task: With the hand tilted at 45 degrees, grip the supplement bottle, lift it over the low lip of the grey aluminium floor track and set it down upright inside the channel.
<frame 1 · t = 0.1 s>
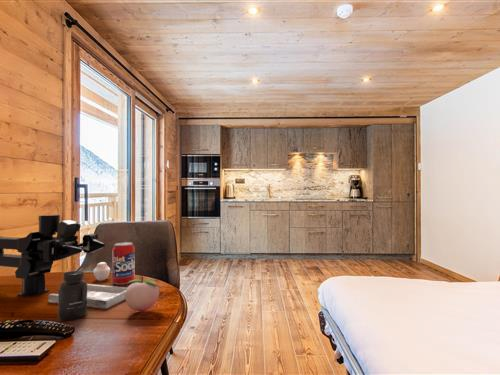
hand: (93, 247, 94), 17 cm above the table, tool horizontal, fingers open, 9 cm apart
small white vase: (101, 279, 117), on the table
supplement bottle: (72, 317, 80), on the table
decorative fruit: (141, 313, 82), on the table
floor track: (92, 298, 95), on the table
soda can: (123, 283, 111), on the table
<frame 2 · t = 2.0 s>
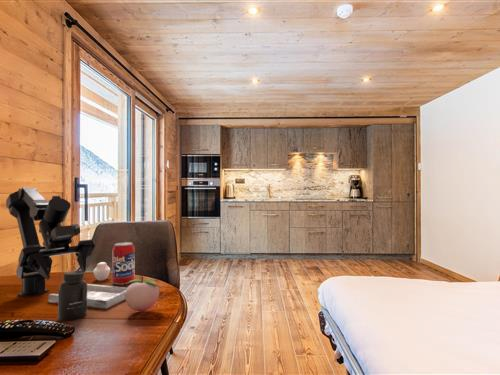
hand: (67, 275, 83), 11 cm above the table, tool tilted 45°, fingers open, 9 cm apart
nothing on the table moved.
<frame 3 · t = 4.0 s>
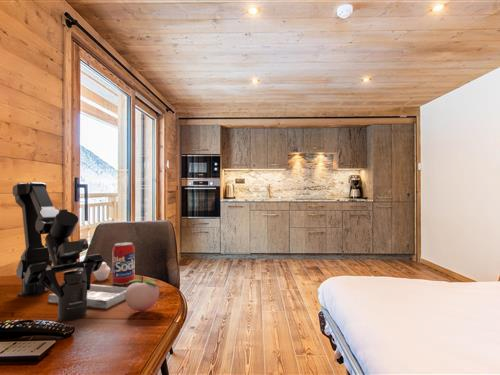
hand: (75, 293, 80), 7 cm above the table, tool tilted 45°, fingers closed on supplement bottle, 7 cm apart
supplement bottle: (72, 317, 80), on the table, touching gripper
everything else where it was.
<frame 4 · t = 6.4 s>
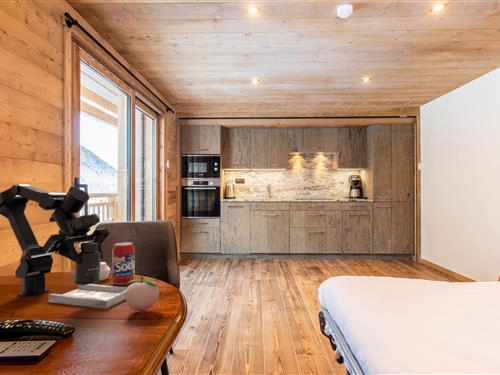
hand: (91, 260, 89), 13 cm above the table, tool tilted 45°, fingers closed on supplement bottle, 7 cm apart
supplement bottle: (87, 283, 89), point 6 cm above the table, touching gripper
everything else where it was.
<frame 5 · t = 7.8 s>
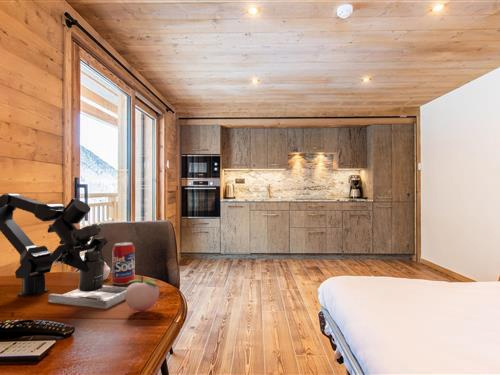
hand: (95, 268, 95), 10 cm above the table, tool tilted 45°, fingers closed on supplement bottle, 7 cm apart
supplement bottle: (91, 289, 94), point 3 cm above the table, touching gripper
everything else where it was.
when the fingers open (9 cm above the table, at t = 9.0 s): supplement bottle drops 1 cm, resting on floor track.
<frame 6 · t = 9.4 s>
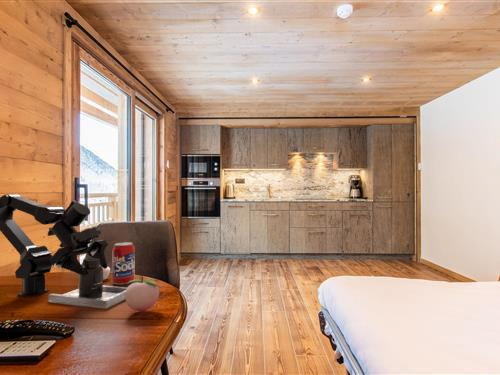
hand: (96, 271, 94), 9 cm above the table, tool tilted 45°, fingers open, 9 cm apart
supplement bottle: (91, 296, 94), point 1 cm above the table, touching floor track
everything else where it was.
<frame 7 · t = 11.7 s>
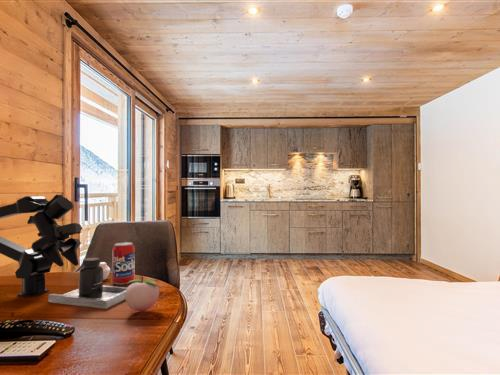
hand: (70, 265, 97), 10 cm above the table, tool tilted 35°, fingers open, 9 cm apart
nothing on the table moved.
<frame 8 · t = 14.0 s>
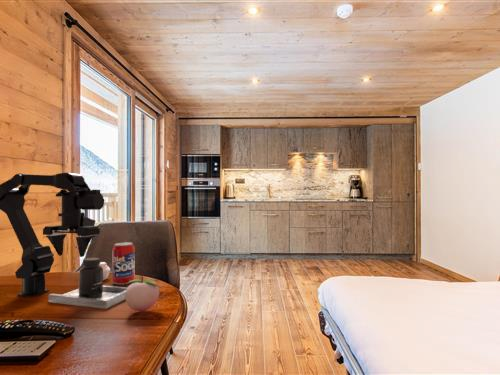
hand: (71, 256, 99), 13 cm above the table, tool pointing down, fingers open, 9 cm apart
nothing on the table moved.
at the end: supplement bottle inside the target area on the floor track (0.5 cm from its centre), point 0.6 cm above the floor track's base; supplement bottle tilted 0°; the gripper is holding nothing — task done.
